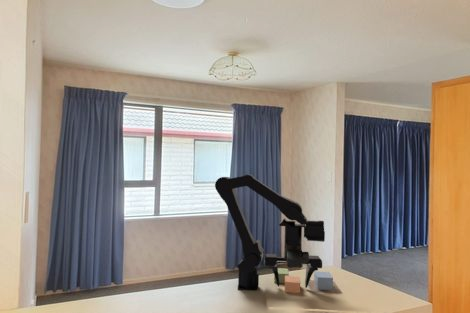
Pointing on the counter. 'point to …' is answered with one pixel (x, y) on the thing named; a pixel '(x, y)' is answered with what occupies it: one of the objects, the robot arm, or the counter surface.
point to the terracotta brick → (292, 284)
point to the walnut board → (314, 289)
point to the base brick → (323, 280)
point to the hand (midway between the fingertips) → (292, 286)
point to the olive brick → (281, 275)
